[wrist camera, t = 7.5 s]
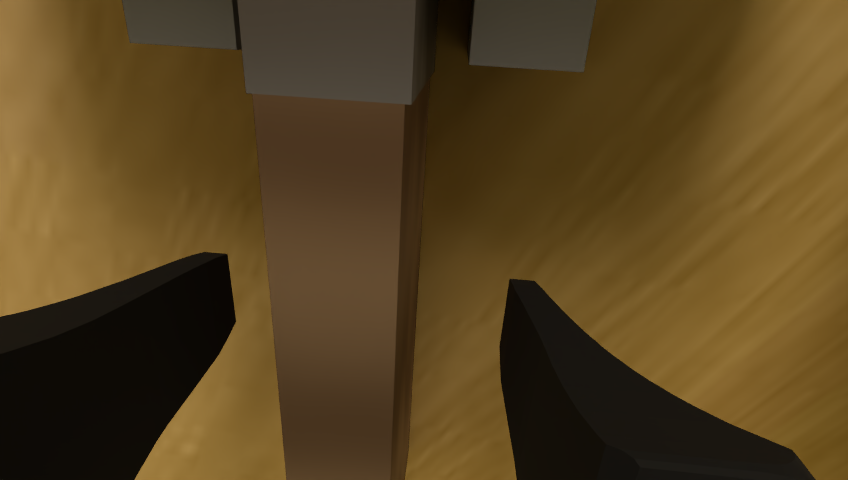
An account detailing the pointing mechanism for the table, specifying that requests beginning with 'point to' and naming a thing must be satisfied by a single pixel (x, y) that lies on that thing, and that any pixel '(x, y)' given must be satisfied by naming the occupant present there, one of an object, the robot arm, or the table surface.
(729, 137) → the table surface
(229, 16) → the cream rectangular block
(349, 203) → the rail
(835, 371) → the table surface
